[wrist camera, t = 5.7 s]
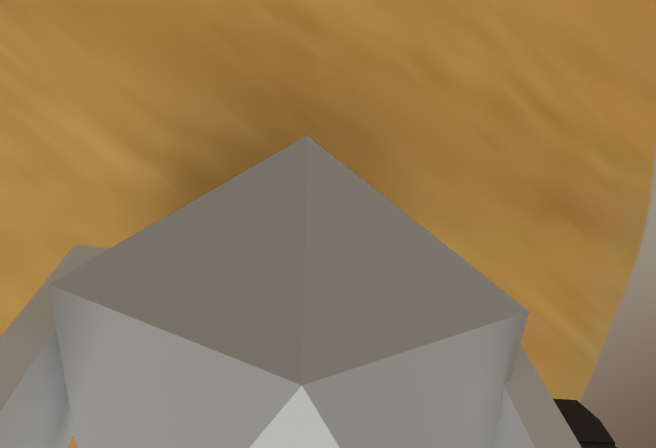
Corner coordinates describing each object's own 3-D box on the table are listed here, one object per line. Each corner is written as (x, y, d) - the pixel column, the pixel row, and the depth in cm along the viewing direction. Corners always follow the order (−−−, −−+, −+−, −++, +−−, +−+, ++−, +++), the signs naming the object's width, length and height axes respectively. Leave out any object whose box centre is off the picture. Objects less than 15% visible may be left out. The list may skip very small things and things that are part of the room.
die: (259, 31, 13) (-215, 310, 7) (643, 185, 11) (444, 853, 4) (252, 266, 19) (-10, 536, 13) (500, 403, 16) (326, 827, 10)
